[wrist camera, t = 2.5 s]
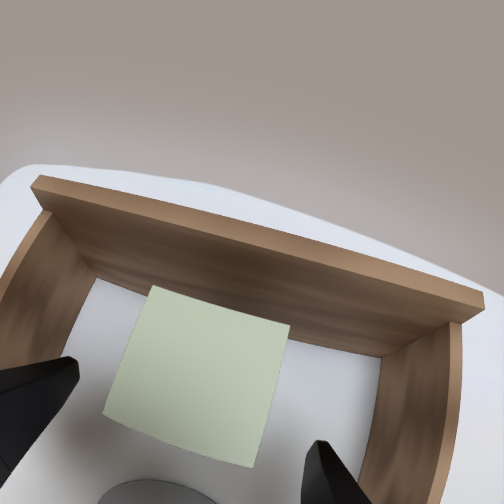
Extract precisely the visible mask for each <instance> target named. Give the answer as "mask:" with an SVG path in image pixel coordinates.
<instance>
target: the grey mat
mask: <svg viewBox="0 0 504 504" xmlns="http://www.w3.org/2000/svg"><path fill="white" fill-rule="evenodd" d="M98 504H216V503H215V502H214V501H212V500H211V499H209V498H207V497H206V496H204V495H202V494H200V493H198V492H196V491H194V490H192V489H189V488H187V487H184V486H181V485H178V484H174V483H170V482H165V481H157V480H136V481H131V482H127V483H124V484H121V485H119V486H116V487H114V488H113V489H111V490H110V491H108V492H107V493H106V494H105V495H104V496H103V497H102V498H101V499H100V501H99V502H98Z"/></svg>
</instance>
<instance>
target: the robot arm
mask: <svg viewBox="0 0 504 504" xmlns="http://www.w3.org/2000/svg"><path fill="white" fill-rule="evenodd" d="M79 379H80V373H79V365H78V361H77V360H76V359H74V358H72V357H70V356H66V357H61V358H57V359H52V360H48V361H43V362H38V363H34V364H29V365H24V366H18V367H13V368H8V369H2V370H0V489H1V487H2V486H3V484H4V483H5V481H6V480H7V479H8V477H9V476H10V475H11V473H12V472H13V470H14V469H15V467H16V466H17V465H18V463H19V462H20V461H21V459H22V458H23V457H24V455H25V454H26V453H27V451H28V450H29V449H30V447H31V446H32V445H33V443H34V442H35V441H36V440H37V438H38V437H39V436H40V434H41V433H42V432H43V431H44V429H45V428H46V427H47V426H48V424H49V423H50V422H51V420H52V419H53V418H54V417H55V416H56V414H57V413H58V412H59V411H60V409H61V408H62V406H63V405H64V403H65V402H66V400H67V399H68V397H69V395H70V394H71V392H72V391H73V389H74V388H75V386H76V385H77V383H78V381H79ZM301 504H372V502H371V501H370V500H369V498H368V497H367V496H366V494H365V493H364V492H363V490H362V489H361V488H360V486H359V485H358V483H357V482H356V481H355V479H354V478H353V477H352V475H351V474H350V472H349V471H348V470H347V468H346V467H345V465H344V464H343V463H342V461H341V460H340V458H339V457H338V456H337V454H336V453H335V451H334V450H333V448H332V447H331V446H330V444H329V443H328V442H327V441H322V440H316V441H315V442H314V443H313V445H312V446H311V448H310V449H309V451H308V452H307V455H306V459H305V466H304V473H303V480H302V487H301Z"/></svg>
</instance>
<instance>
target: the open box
mask: <svg viewBox="0 0 504 504" xmlns="http://www.w3.org/2000/svg"><path fill="white" fill-rule="evenodd" d="M30 188H31V190H32V191H33V193H34V195H35V197H36V198H37V200H38V202H39V203H40V205H41V207H42V208H43V211H42V212H41V213H40V215H39V216H38V218H37V219H36V220H35V222H34V223H33V225H32V226H31V228H30V229H29V231H28V232H27V234H26V235H25V237H24V239H23V240H22V242H21V243H20V245H19V247H18V248H17V250H16V252H15V253H14V255H13V257H12V258H11V260H10V262H9V264H8V265H7V267H6V269H5V271H4V273H3V275H2V277H1V278H0V370H2V369H8V368H13V367H18V366H24V365H29V364H34V363H38V362H43V361H48V360H52V359H57V358H60V356H61V353H62V351H63V348H64V346H65V344H66V341H67V339H68V336H69V334H70V332H71V329H72V327H73V325H74V323H75V320H76V318H77V316H78V314H79V312H80V310H81V307H82V305H83V303H84V301H85V299H86V297H87V295H88V293H89V291H90V289H91V287H92V285H93V283H94V281H95V279H96V277H98V278H100V279H103V280H105V281H108V282H110V283H113V284H116V285H118V286H121V287H123V288H126V289H129V290H131V291H134V292H137V293H140V294H142V295H145V296H148V295H149V292H150V290H151V288H152V286H153V285H154V286H157V287H160V288H163V289H166V290H169V291H172V292H175V293H178V294H181V295H185V296H188V297H191V298H194V299H197V300H200V301H204V302H207V303H210V304H214V305H217V306H220V307H224V308H227V309H231V310H234V311H238V312H241V313H245V314H248V315H252V316H256V317H259V318H263V319H267V320H271V321H274V322H278V323H282V324H286V325H290V329H289V333H288V339H292V340H296V341H300V342H305V343H309V344H313V345H318V346H322V347H327V348H331V349H336V350H341V351H346V352H351V353H356V354H361V355H367V356H372V357H378V358H382V360H381V369H380V377H379V385H378V392H377V398H376V404H375V410H374V416H373V421H372V426H371V431H370V436H369V441H368V445H367V449H366V453H365V458H364V461H363V465H362V469H361V473H360V476H359V480H358V485H359V486H360V488H361V489H362V490H363V492H364V493H365V494H366V496H367V497H368V498H369V500H370V501H371V502H372V504H440V502H441V498H442V495H443V492H444V488H445V485H446V481H447V477H448V473H449V469H450V465H451V460H452V455H453V450H454V445H455V439H456V433H457V426H458V419H459V410H460V400H461V386H462V323H464V322H466V321H467V320H469V319H471V318H472V317H474V316H475V315H477V314H479V313H480V312H482V311H483V310H485V305H484V297H483V292H481V291H478V290H475V289H472V288H469V287H466V286H463V285H460V284H457V283H454V282H451V281H448V280H445V279H442V278H439V277H436V276H433V275H429V274H426V273H423V272H420V271H417V270H414V269H410V268H407V267H404V266H401V265H397V264H394V263H391V262H387V261H384V260H381V259H377V258H374V257H371V256H367V255H364V254H361V253H357V252H354V251H350V250H347V249H343V248H340V247H336V246H333V245H329V244H326V243H322V242H319V241H315V240H312V239H308V238H304V237H301V236H297V235H294V234H290V233H286V232H283V231H279V230H275V229H271V228H268V227H264V226H260V225H256V224H252V223H249V222H245V221H241V220H237V219H233V218H229V217H225V216H221V215H217V214H213V213H209V212H205V211H201V210H197V209H193V208H189V207H185V206H181V205H177V204H173V203H168V202H164V201H160V200H156V199H151V198H147V197H143V196H138V195H134V194H130V193H125V192H121V191H116V190H112V189H107V188H102V187H98V186H93V185H88V184H84V183H79V182H74V181H69V180H64V179H59V178H54V177H49V176H44V175H39V177H38V178H37V179H36V180H35V181H34V183H33V184H32V185H31V186H30Z"/></svg>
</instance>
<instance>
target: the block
mask: <svg viewBox="0 0 504 504" xmlns="http://www.w3.org/2000/svg"><path fill="white" fill-rule="evenodd" d="M289 329H290V325H286V324H282V323H278V322H274V321H271V320H267V319H263V318H259V317H256V316H252V315H248V314H245V313H241V312H238V311H234V310H231V309H227V308H224V307H220V306H217V305H214V304H210V303H207V302H204V301H200V300H197V299H194V298H191V297H188V296H185V295H181V294H178V293H175V292H172V291H169V290H166V289H163V288H160V287H157V286H154V285H153V286H152V288H151V290H150V292H149V295H148V297H147V299H146V301H145V304H144V306H143V308H142V310H141V313H140V315H139V317H138V320H137V322H136V325H135V327H134V329H133V332H132V334H131V337H130V339H129V342H128V344H127V347H126V349H125V352H124V354H123V357H122V359H121V362H120V365H119V367H118V370H117V373H116V375H115V378H114V381H113V383H112V386H111V389H110V392H109V395H108V398H107V401H106V403H105V406H104V409H103V412H102V415H104V416H106V417H108V418H110V419H112V420H114V421H116V422H118V423H120V424H122V425H124V426H127V427H129V428H131V429H133V430H135V431H138V432H140V433H142V434H145V435H147V436H149V437H152V438H154V439H157V440H159V441H162V442H164V443H167V444H170V445H173V446H175V447H178V448H181V449H184V450H187V451H190V452H193V453H196V454H199V455H203V456H206V457H209V458H213V459H217V460H220V461H224V462H228V463H232V464H236V465H240V466H245V467H250V468H253V466H254V463H255V459H256V456H257V453H258V449H259V446H260V443H261V439H262V436H263V432H264V429H265V425H266V421H267V418H268V414H269V410H270V407H271V403H272V399H273V395H274V391H275V388H276V384H277V380H278V376H279V372H280V368H281V363H282V359H283V355H284V351H285V347H286V342H287V338H288V333H289Z"/></svg>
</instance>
